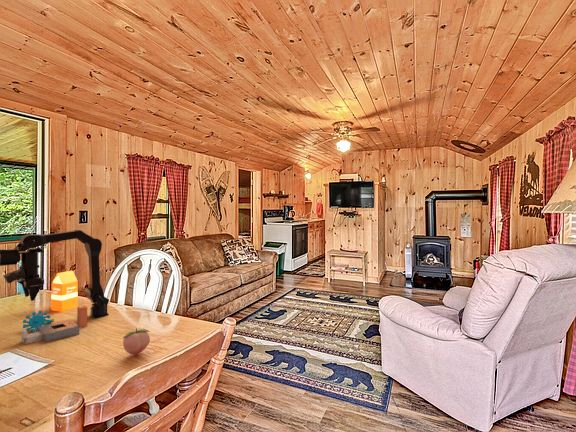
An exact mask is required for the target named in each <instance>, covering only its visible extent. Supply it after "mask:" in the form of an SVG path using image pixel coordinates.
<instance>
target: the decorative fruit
mask: <svg viewBox="0 0 576 432" xmlns="http://www.w3.org/2000/svg"><path fill="white" fill-rule="evenodd" d="M149 332H150V330H148V329H147V328H141V329H138V328H135V330H133V331H132V330H131V331H130V332H127V333H126V334H125V335H124V336H122V337H123V338H122V339H123V341H122V345H123V348H124V350H125V352H126V353H127V354H130V355H135V356H136V355H139V354H140V353H142V352H143V351H144V350H146V348H147V347H148V345H149V344H150V342H151V341H150V340H151V338H150V337H151V336H150V335H149Z"/></svg>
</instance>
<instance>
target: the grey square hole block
mask: <svg viewBox="0 0 576 432" xmlns="http://www.w3.org/2000/svg"><path fill="white" fill-rule="evenodd" d="M36 332H41V333H42V334H43V340H42V341H43V342H44V343H49V342H53V341H57V340H62V339H65V338H68V337H73V336H77V335H80V328H79V325H77V323H76V322H74V321H73V320H72V319H66V320H61V321H57V322H52V324H47V325H42V326H38V327H37V329H36Z"/></svg>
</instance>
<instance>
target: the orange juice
mask: <svg viewBox="0 0 576 432" xmlns="http://www.w3.org/2000/svg"><path fill="white" fill-rule="evenodd" d="M78 283H79V282H78V279H77V277H76V274H75V273H74V271H73V270H67V271H63V272H58V273H56V275H55V277H54V279H53V280H52V282H51V295H50V296H51V298H50V299H51V311H53V312H60V313H63V312H66V311H69V310H73V309H75V308H77V307H78V297H79V296H78V287H79V286H78V285H79V284H78Z"/></svg>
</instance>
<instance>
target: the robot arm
mask: <svg viewBox="0 0 576 432" xmlns="http://www.w3.org/2000/svg"><path fill="white" fill-rule="evenodd" d="M74 239H75V240H76V239H77V240H78V241H79V242H81V243H82V244H84V248H85V251H86V254H87V257H88V275H89V283H88V287H85V288H84V290H85V291H84V292H85V295H84V296H85V297H86V299H88V300H89V301H90V303H91V307H90V313H89V314H90V317H92V318H94V319H97V318H101V317H106V316H109V313H108V304H109V301H110V299H109V298H107V297H106V296H105V293H104V290H103V286H102V284H101V275H100V273H101V271H100V255H101V251H102V246H103V243H102V240H100V239H99V238H95V237H93V236H91V235H89V234H87V233H86V232H84V231H83V230H81V229H75V230H70V231H62V232H61V231H60V232H55V233H48V234H38V233H36V234H34V233H33V234H31V233H29V234H24V235H23V236H22V237H21V238H20V240H19V243H18V244H17V245H16V246H15V247H14V248H13V249H12V248H8V249H2V248H1V249H0V267H2V266H3V267H5V266H13V265H14V266H15V265H18V263H20V262H21V263H20V264H21V265H19V267H18V269H16V270H13V271H11V272H8V273H5V274H3V278H4V281H5V283H7V284H11V283H13V282H14V281H15V282H17V283H18V284H19V285H21V287H22V290H23V293H24V296H25V297H26V298H27V297H29V300H30V301H31V302H32V301H35V299H36V297H37V296H38V294H39V292H40V290H41V289H42V287H43V286H44V285H45V279H44V278H42V277H41V276H40V274H39V268H40V264H39V253H44V252H45V250H43V249H42V248H41V246H44V245H47V244H49V243H56V242H62V241H63V242H64V241H68V240H69V241H70V240H74Z"/></svg>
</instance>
